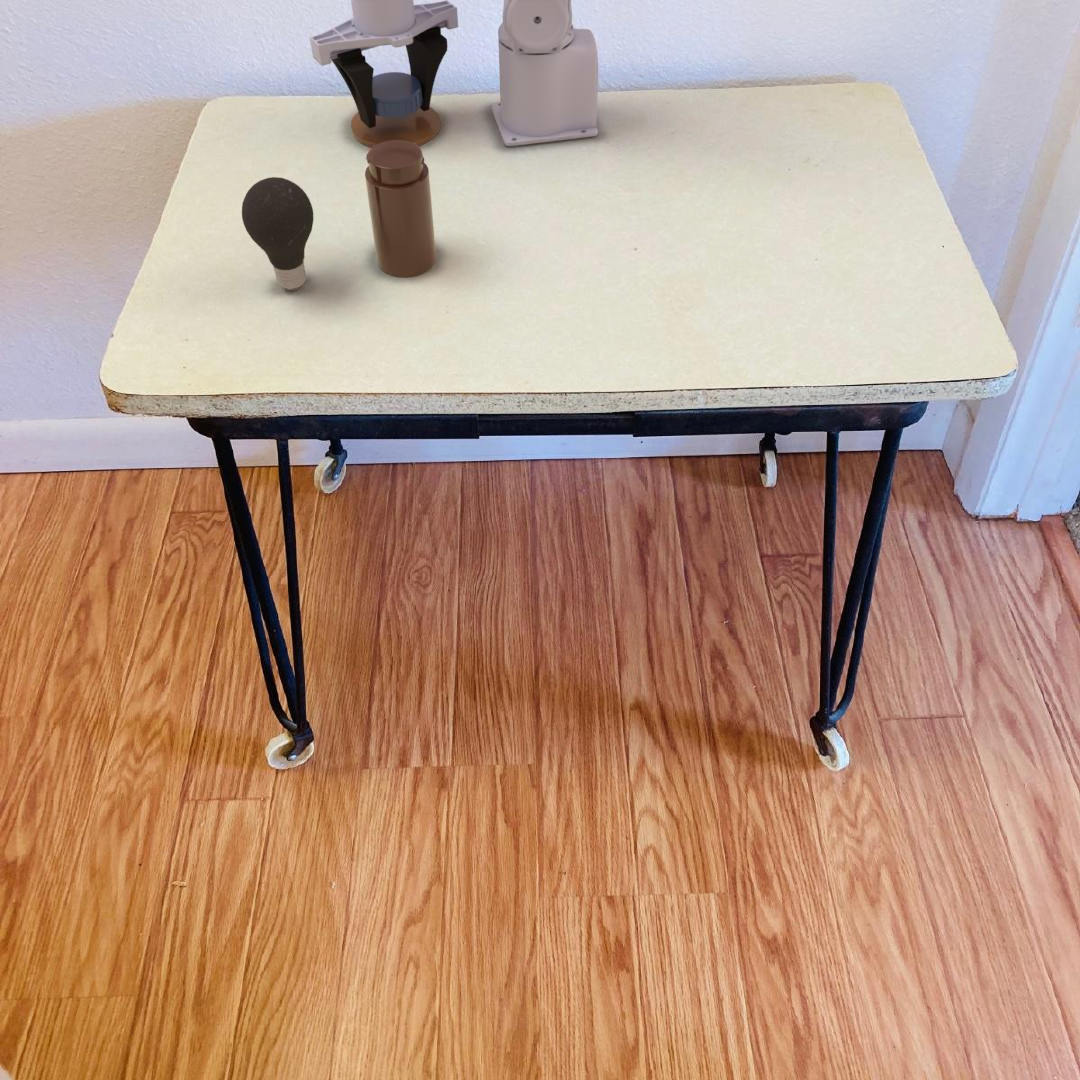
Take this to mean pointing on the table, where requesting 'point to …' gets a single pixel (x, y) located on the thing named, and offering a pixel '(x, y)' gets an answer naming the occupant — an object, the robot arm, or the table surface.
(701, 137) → the table surface
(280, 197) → the light bulb
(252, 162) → the table surface
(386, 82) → the jar lid
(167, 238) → the table surface
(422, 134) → the coaster
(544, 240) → the table surface
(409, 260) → the jar
